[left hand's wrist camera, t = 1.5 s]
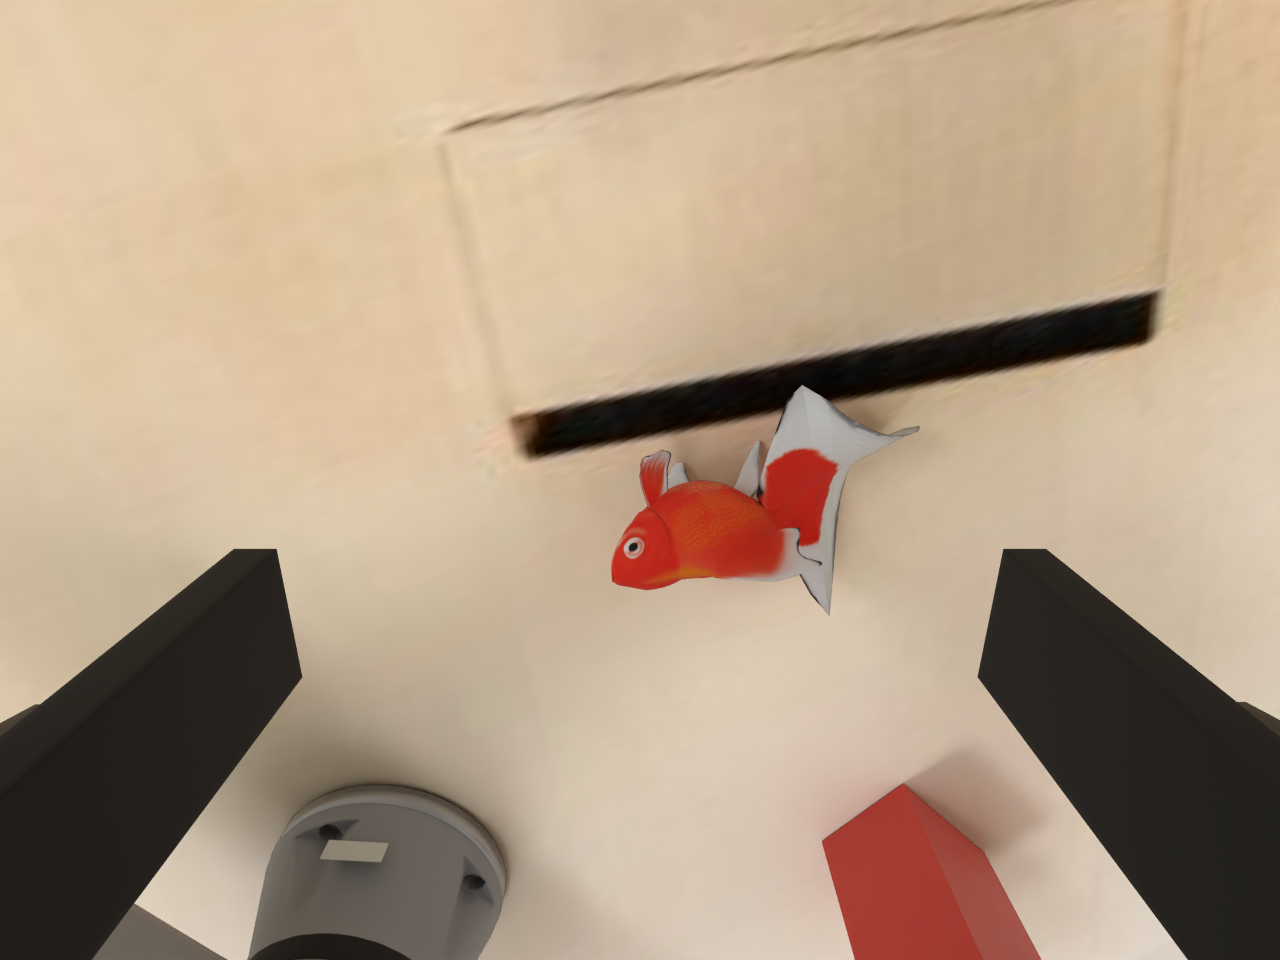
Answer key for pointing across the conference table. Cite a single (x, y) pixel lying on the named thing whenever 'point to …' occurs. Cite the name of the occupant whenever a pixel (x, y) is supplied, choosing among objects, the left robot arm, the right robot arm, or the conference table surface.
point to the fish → (751, 508)
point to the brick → (920, 888)
